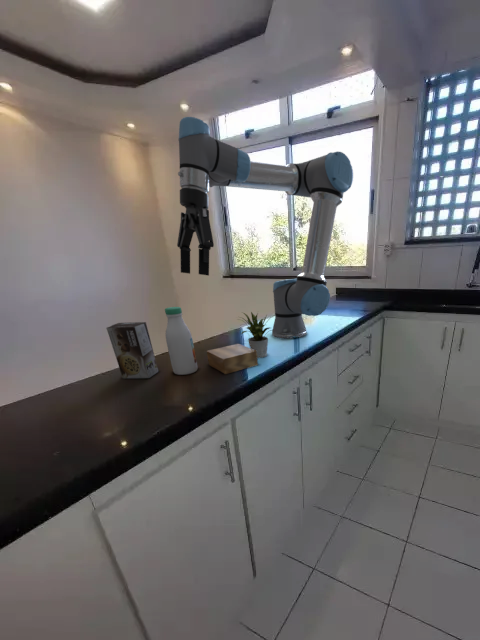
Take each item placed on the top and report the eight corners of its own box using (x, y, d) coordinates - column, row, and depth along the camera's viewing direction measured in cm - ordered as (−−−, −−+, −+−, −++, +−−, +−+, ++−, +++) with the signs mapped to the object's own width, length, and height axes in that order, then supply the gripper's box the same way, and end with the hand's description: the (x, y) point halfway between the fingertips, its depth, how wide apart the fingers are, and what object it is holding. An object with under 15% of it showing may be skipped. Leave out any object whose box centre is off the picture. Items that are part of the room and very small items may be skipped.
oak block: (240, 357, 112) (238, 343, 109) (258, 365, 103) (256, 350, 101) (208, 365, 105) (206, 350, 103) (225, 374, 97) (223, 359, 94)
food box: (159, 371, 101) (147, 321, 94) (149, 378, 95) (134, 326, 88) (133, 371, 102) (119, 322, 95) (121, 378, 96) (105, 326, 89)
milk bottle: (193, 375, 97) (180, 309, 88) (169, 375, 97) (154, 310, 88) (201, 366, 104) (190, 305, 95) (178, 367, 104) (165, 306, 95)
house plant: (228, 357, 111) (221, 311, 104) (254, 347, 121) (250, 305, 114) (257, 364, 104) (252, 314, 97) (283, 353, 114) (280, 307, 107)
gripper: (164, 193, 91) (166, 270, 98) (199, 178, 74) (199, 273, 81) (190, 200, 96) (190, 273, 103) (228, 188, 79) (225, 277, 86)
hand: (194, 274), depth 92 cm, fingers open, 13 cm apart
